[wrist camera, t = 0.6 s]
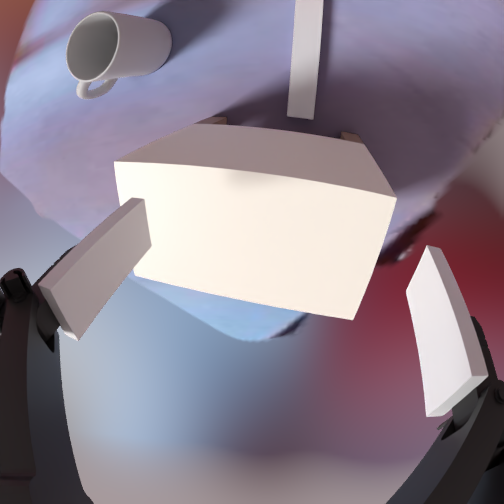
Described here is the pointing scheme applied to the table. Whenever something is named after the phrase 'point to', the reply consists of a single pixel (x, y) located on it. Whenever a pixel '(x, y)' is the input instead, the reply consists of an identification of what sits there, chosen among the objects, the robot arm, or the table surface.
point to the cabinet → (261, 214)
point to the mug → (115, 49)
